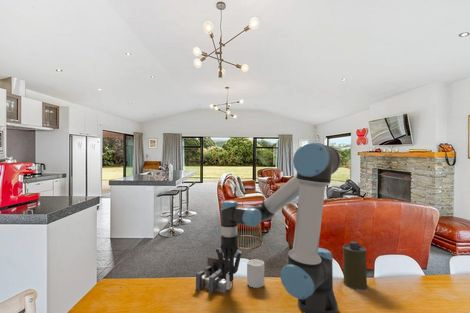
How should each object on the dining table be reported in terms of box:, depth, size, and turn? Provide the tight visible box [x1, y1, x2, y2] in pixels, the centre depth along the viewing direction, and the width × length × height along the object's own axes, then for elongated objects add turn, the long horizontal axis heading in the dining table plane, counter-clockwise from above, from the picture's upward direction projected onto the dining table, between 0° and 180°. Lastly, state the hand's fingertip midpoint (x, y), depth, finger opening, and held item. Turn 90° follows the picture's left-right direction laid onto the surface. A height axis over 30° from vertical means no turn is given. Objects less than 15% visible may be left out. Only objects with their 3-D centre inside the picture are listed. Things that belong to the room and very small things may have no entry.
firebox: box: [195, 256, 234, 295], centre depth 114 cm, size 14×14×10 cm
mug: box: [246, 258, 265, 289], centre depth 117 cm, size 12×8×10 cm
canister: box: [342, 240, 368, 291], centre depth 117 cm, size 11×10×20 cm
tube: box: [202, 273, 229, 294], centre depth 112 cm, size 14×4×4 cm, turn 64°
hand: (228, 287), depth 109 cm, fingers closed
